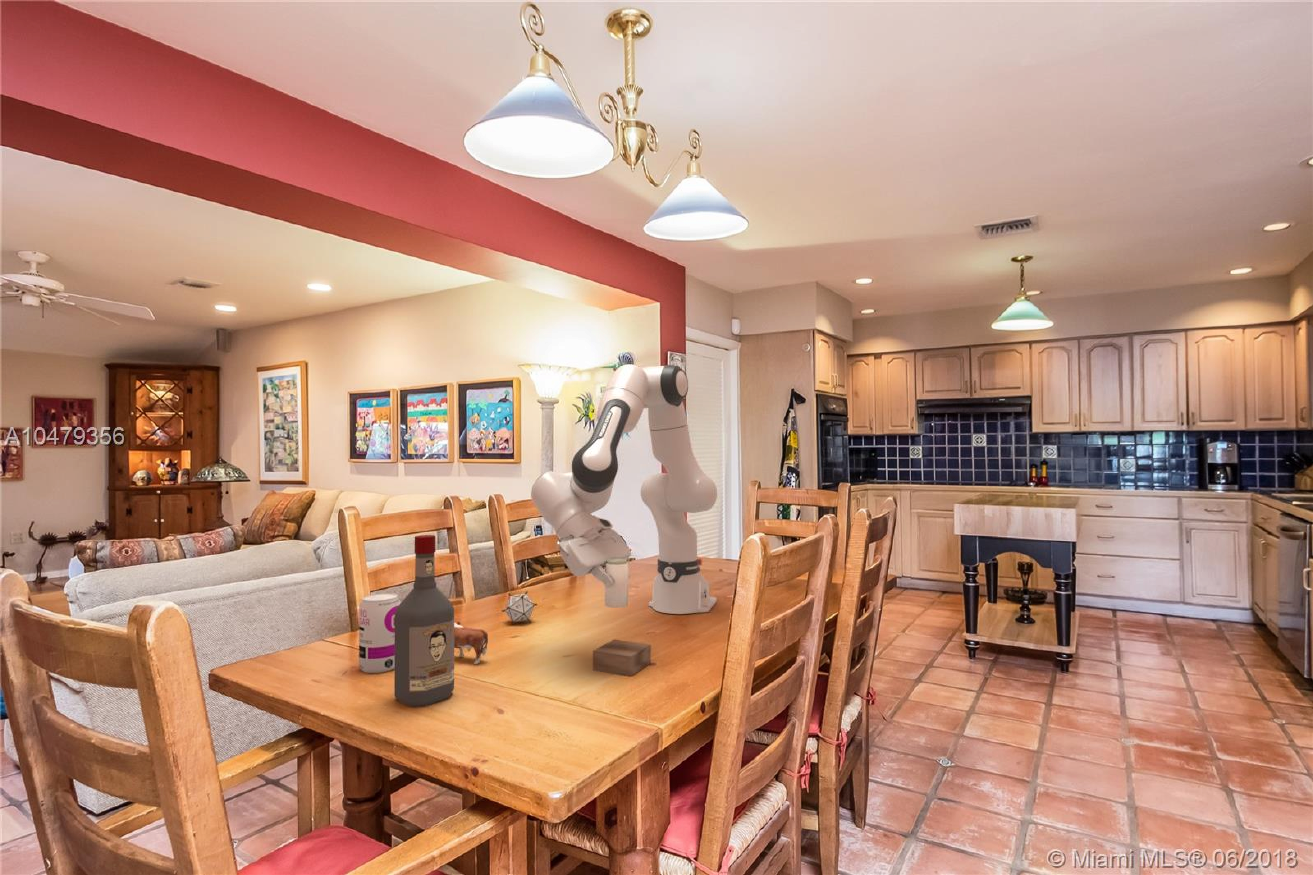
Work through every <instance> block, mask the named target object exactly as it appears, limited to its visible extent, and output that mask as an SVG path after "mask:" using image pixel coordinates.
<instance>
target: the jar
mask: <svg viewBox="0 0 1313 875" xmlns="http://www.w3.org/2000/svg"><path fill="white" fill-rule="evenodd" d="M604 572H605V573H607V574H608V575H609V576H610V575H611V576H612V577H613V579H614V580H615V583H614V584H613V585H612V586H610V587H606V586H605V585H604V606H605V607H607V608H619V609H620V608H625V607H627V606H629V579H628V574H629V562H628V559H626V558H620V557H614V558H610V559H607V563H605V569H604Z"/></svg>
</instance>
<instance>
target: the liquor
mask: <svg viewBox="0 0 1313 875" xmlns="http://www.w3.org/2000/svg"><path fill="white" fill-rule="evenodd" d="M435 553H436V535H433V534H424V535H423V534H422V535H415V536H414V554H415V556H414V557H415V563H414V565H415V567H414V568H415V569H414V571H415V574H414V582H413V586H412V587H413V588H412V589H411V591H410V592H409V593H408V594H407V595H406V596H405V597H404V599H403V600H402V601H401V603H400V605H399V606H398V607H397V609H396V612H395V669H394V682H393V683H394V685H393V686H394V688H393V691H394V697H395V699H396V701H398V700H399V702H400V701H401V703H402V702H403V703H402V704H404V703H405V704H404V705H406V704H407V706H408V705H410V706H416V707H426V706H425V705H427V706H430V705H432V704H436V703H439V702H441V701H440V700H442V701H445V700H448V699H449V698H450V697H449V696H451V695H452V693H453V691H454V689H455V648H454V623H455V608H454V605H453V603H452V602H451V601H450V599H449V598H448V597H447V596H446V595H445V594H444V593H443V592H442V591H441V590H440V589H439V588H438V587H437V582H436V578H435V575H436V570H435V568H436V567H435ZM447 698H448V699H447ZM438 701H439V702H438ZM435 702H436V703H435ZM410 706H409V707H410Z"/></svg>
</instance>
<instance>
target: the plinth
mask: <svg viewBox="0 0 1313 875" xmlns="http://www.w3.org/2000/svg"><path fill="white" fill-rule="evenodd" d="M651 649H652V648H651V644H650V643H648V644H647V643H641V642H636V641H635V642H634V641H628V640H621V639H615V638H614V639H612V640H610V641H609V642H607V643H605V644H603V645H601V646H599V647H597V648H595V649H593V650H592V670H593V671H598V672H603V673H609V674H615V675H621V676H626V677H632V676H633V675H635V674H637V673H638V672H639V671H641V670H643V669H644V668H646V667H647V666H649V665H651V660H652V659H651V658H652V657H651V655H652V654H651V653H652V652H651Z"/></svg>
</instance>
